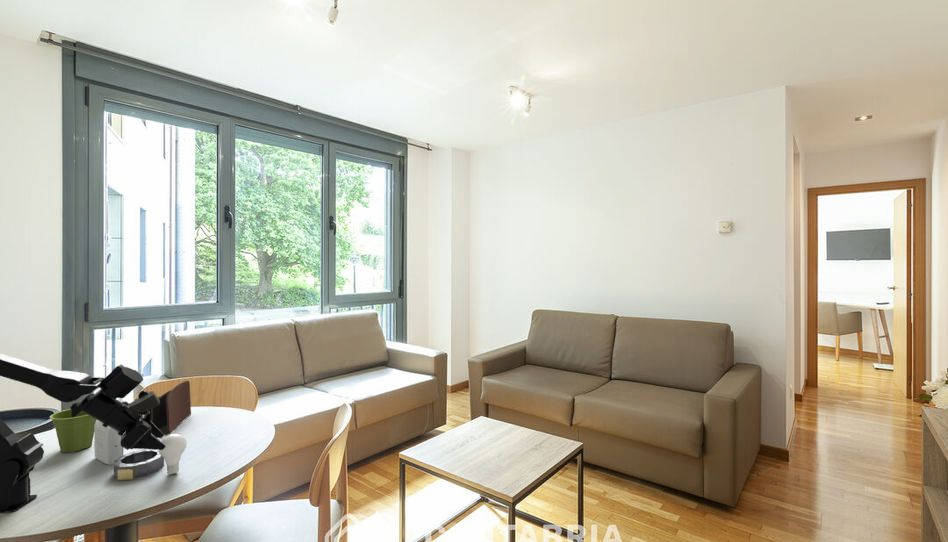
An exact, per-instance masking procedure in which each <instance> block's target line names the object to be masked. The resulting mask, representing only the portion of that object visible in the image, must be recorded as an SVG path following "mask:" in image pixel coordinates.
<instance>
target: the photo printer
mask: <svg viewBox="0 0 948 542" xmlns="http://www.w3.org/2000/svg"><path fill="white" fill-rule="evenodd" d="M102 424H103V423H102V422H100V421H98V420H97V421H96V422H95V425H94V436H93V439H94V441H93V443H94V458H95V459H96V460H98V461H100V462H101V463H103V464H105V465H110V466H111V465H112V466H114V461H115V460H116V459H118V458H119V457H120V456H123V455H124V448H123V447H121V436H120V435H118V431H116V430H114V429H113V428H111V427H109V426H107V427H104V426H102Z"/></svg>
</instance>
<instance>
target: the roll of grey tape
mask: <svg viewBox="0 0 948 542" xmlns="http://www.w3.org/2000/svg"><path fill="white" fill-rule="evenodd" d="M164 466H165V459H164V458H163V457H162V456H161V455H160V453H159V450H154V449H138V450H135V451H134V450H133V451H131V452H128V453H125V454H123V456H120V457H119V458H118V459H116V460H115V461H114V464H113V478H114V479H117V481H127V480H135V479H139V478H143V477H147V476H149V475H152V474H154V473H157V472H158V471H160V470H161V469H162V468H163V467H164Z"/></svg>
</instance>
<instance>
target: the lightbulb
mask: <svg viewBox="0 0 948 542" xmlns="http://www.w3.org/2000/svg"><path fill="white" fill-rule="evenodd" d="M160 441H161V442H162V443H163V444H164V445H165V446H166V447H165V448H164V449H163V450H159V453H160V455H161V456H162V457H163V458H164V463H165V464H166V471H167V473H166V474H168V475H176V474H177V473H178V472H179V471H180V466H179V465H180V461H181V457H182V455H183V453H184V452H185V450H186V448H187V439H186V437H185V436H184V435H183V434H180V433H170V434H167V435H166V436H163V437H162V438H161V440H160Z"/></svg>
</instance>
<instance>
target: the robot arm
mask: <svg viewBox="0 0 948 542" xmlns="http://www.w3.org/2000/svg"><path fill="white" fill-rule="evenodd" d="M0 377H2V378H6V379H9V380H12V381H16V382H19V383H22V384H25V385H28V386H31V387H32V386H33V387H35V388H38V389H40V390H41V391H42V392H44V394H46V395H47V396H48V397H51V398H53V399H54V400H57V401H59V402H62V403H72V402H73V403H72V404H71V406H70V407H69V409H71V417H72V418H74V417H75V416H76V415H78V414H79V413H80V412H81V411H82V412H84V413H86V414H88V415H89V416H91V417H93V418H95V419H97V420H98V421H100V422H102V423H103V424H102V426H104V427H107V426H109V427H111V428H113V429H114V430H116V431H118V435H120V436H121V447H123V449H125V450H126V451H128V450H133V449H137V450H143V449H154V450H163V449H164V448H165V447H166V446H165V445H164V444H163V443H162V442H161V440H160V439H163V438H164V437H165V434H163V433H162V432H161V431H160V430H159V429H158V428H157V427H156V426H155V425H154V424H153V422H152V421H151V420H150V411H149V412H148V410H149V409H151V408H153V407H156V406H158V405H159V404H160V402H159V401H160V400H159V399H158V397H159V396H157V394H156V392H155V391H152V390H150V391H148V390H146V389H143V390H141V391H140V392H138V398H136V399H134V400H133V401H131V402H128V401H120V400H119V399H124V398H126V396H128V395H129V394H130V393H131V392H132V391H133V390H135V388H137V386H139V385H140V384H141V383H142V382H143V381H144V377H143V375H142V374H141V373H140V372H139V371H137V370H136V369H133V368H130V367H127V366H124V365H123V364H118V365H117V366H115V367H114V368H113V369H112V371H111V372H110V373H109V374H108V375H106V377H101V376H91V375H90V374H87V373H85V372H77V371H74V370H73V371H72V370H56V369H52V368H48V367H45V366H42V365H39V364H36V363H32V362H29V361H26V360H23V359H20V358H17V357H13V356H11V355H8V354H4V353H0ZM98 389H99V390H98ZM96 390H98V391H97V392H95V391H96ZM93 392H95V393H93ZM86 395H87V396H86ZM83 396H85V397H84V398H83V399H82V400H81V401H80V402H79V401H78V402H74V401H76V400H78V399H80V398H81V397H83ZM144 413H146V414H145V415H143V414H144ZM43 446H44V443H42V442H40V441H38V440H37V438H36V436H35V435H34V434H33V433H31V432H30V433H29V434H27V435H25V436H23V435H20V434H17V433H15V432H14V431H13V430H12V429H11V428H10V427H9V425H7V424H6V423H5V421H3V420H2V418H0V513H5V512H4V511H11V512H15V511H14V510H16V511H17V510H19V509H20V507H21V508H22V507H23V505H24V506H25V505H27V504H28V503H30V502H32V501H33V500H34V499H37V497H38V495H37V494H31V478H30V472H33V470H35V467H36V465H38V464H39V463H40V462H41V461H42V460H43V458H44V453H45V451H44V448H43ZM26 503H27V504H26ZM18 508H19V509H18Z"/></svg>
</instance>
